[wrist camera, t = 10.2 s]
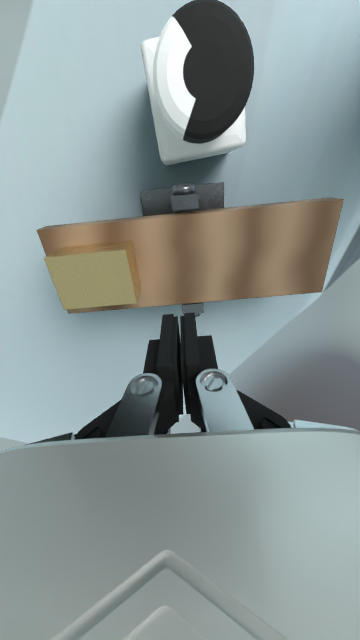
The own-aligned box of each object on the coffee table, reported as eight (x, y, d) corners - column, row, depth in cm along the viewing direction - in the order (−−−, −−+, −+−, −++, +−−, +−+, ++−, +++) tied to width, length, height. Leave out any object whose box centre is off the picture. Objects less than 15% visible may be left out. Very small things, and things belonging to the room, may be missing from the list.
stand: (222, 178, 29) (241, 178, 21) (222, 284, 36) (236, 315, 28) (70, 194, 29) (31, 200, 21) (100, 295, 37) (78, 329, 28)
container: (224, 59, 24) (269, -46, 13) (229, 152, 28) (266, 135, 16) (148, 76, 24) (126, -9, 13) (164, 166, 28) (157, 158, 17)
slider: (132, 240, 23) (125, 249, 20) (141, 288, 25) (136, 303, 22) (61, 247, 23) (43, 257, 20) (77, 294, 26) (64, 309, 23)
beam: (331, 197, 23) (343, 199, 21) (312, 284, 27) (321, 292, 26) (46, 226, 24) (36, 230, 22) (75, 305, 29) (68, 313, 27)
